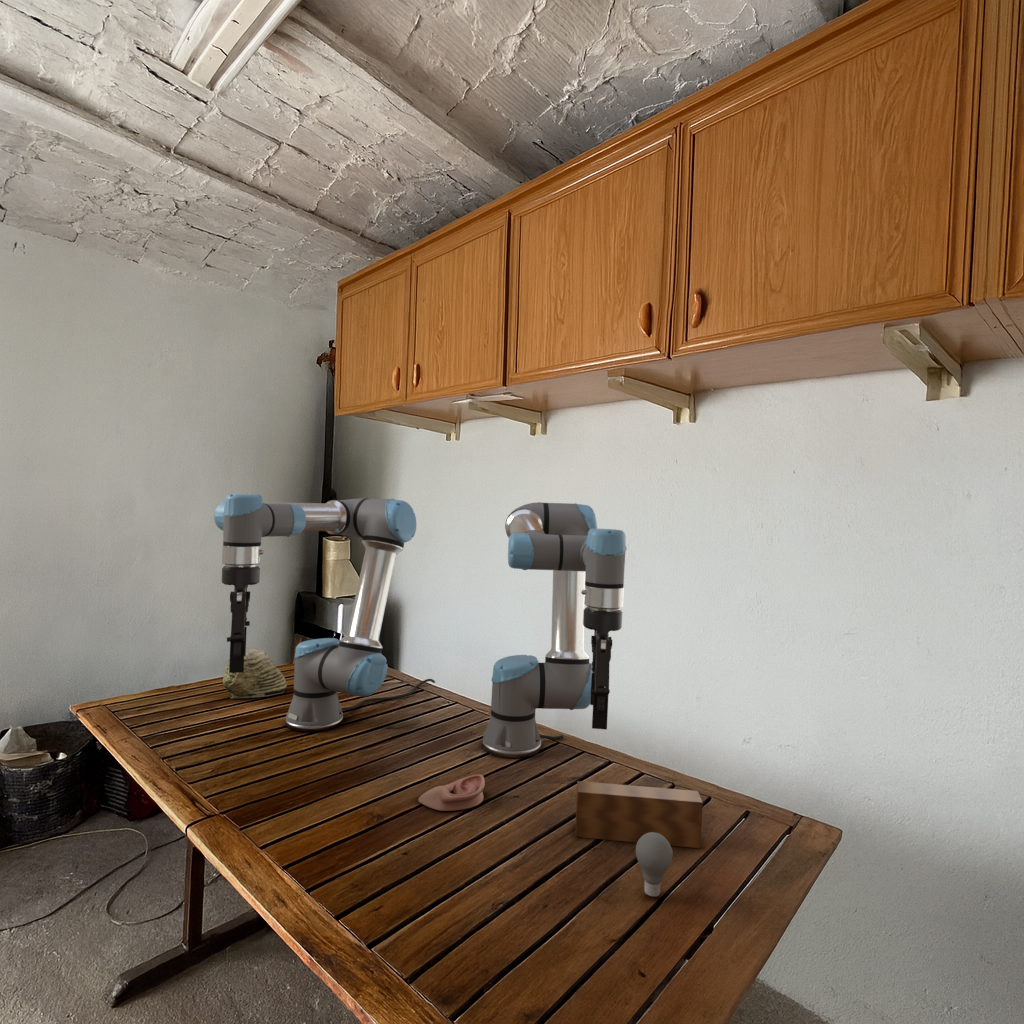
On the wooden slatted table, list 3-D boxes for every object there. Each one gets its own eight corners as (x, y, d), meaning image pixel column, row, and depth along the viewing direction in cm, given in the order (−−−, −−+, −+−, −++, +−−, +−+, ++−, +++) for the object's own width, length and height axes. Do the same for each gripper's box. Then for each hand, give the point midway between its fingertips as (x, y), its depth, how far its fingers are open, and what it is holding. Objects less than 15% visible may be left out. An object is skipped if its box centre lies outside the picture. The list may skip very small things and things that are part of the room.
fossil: (218, 695, 195) (220, 647, 195) (278, 685, 208) (279, 640, 207) (228, 703, 189) (230, 653, 188) (289, 692, 201) (290, 645, 201)
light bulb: (629, 883, 108) (632, 825, 107) (663, 883, 108) (666, 825, 108) (639, 906, 102) (642, 844, 101) (675, 905, 102) (678, 844, 102)
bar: (695, 835, 125) (697, 790, 125) (700, 848, 120) (702, 802, 120) (575, 824, 127) (577, 780, 127) (575, 837, 122) (577, 791, 122)
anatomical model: (413, 788, 131) (431, 765, 142) (412, 807, 131) (431, 783, 142) (475, 796, 128) (489, 773, 139) (474, 816, 128) (488, 791, 139)
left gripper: (259, 572, 126) (255, 678, 126) (260, 559, 149) (257, 649, 149) (218, 572, 123) (214, 681, 123) (225, 559, 146) (222, 650, 147)
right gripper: (583, 597, 136) (578, 695, 137) (584, 618, 111) (579, 738, 112) (618, 599, 136) (613, 697, 136) (627, 621, 111) (622, 741, 111)
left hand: (237, 663), depth 136 cm, fingers open, 13 cm apart
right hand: (598, 716), depth 124 cm, fingers open, 13 cm apart
